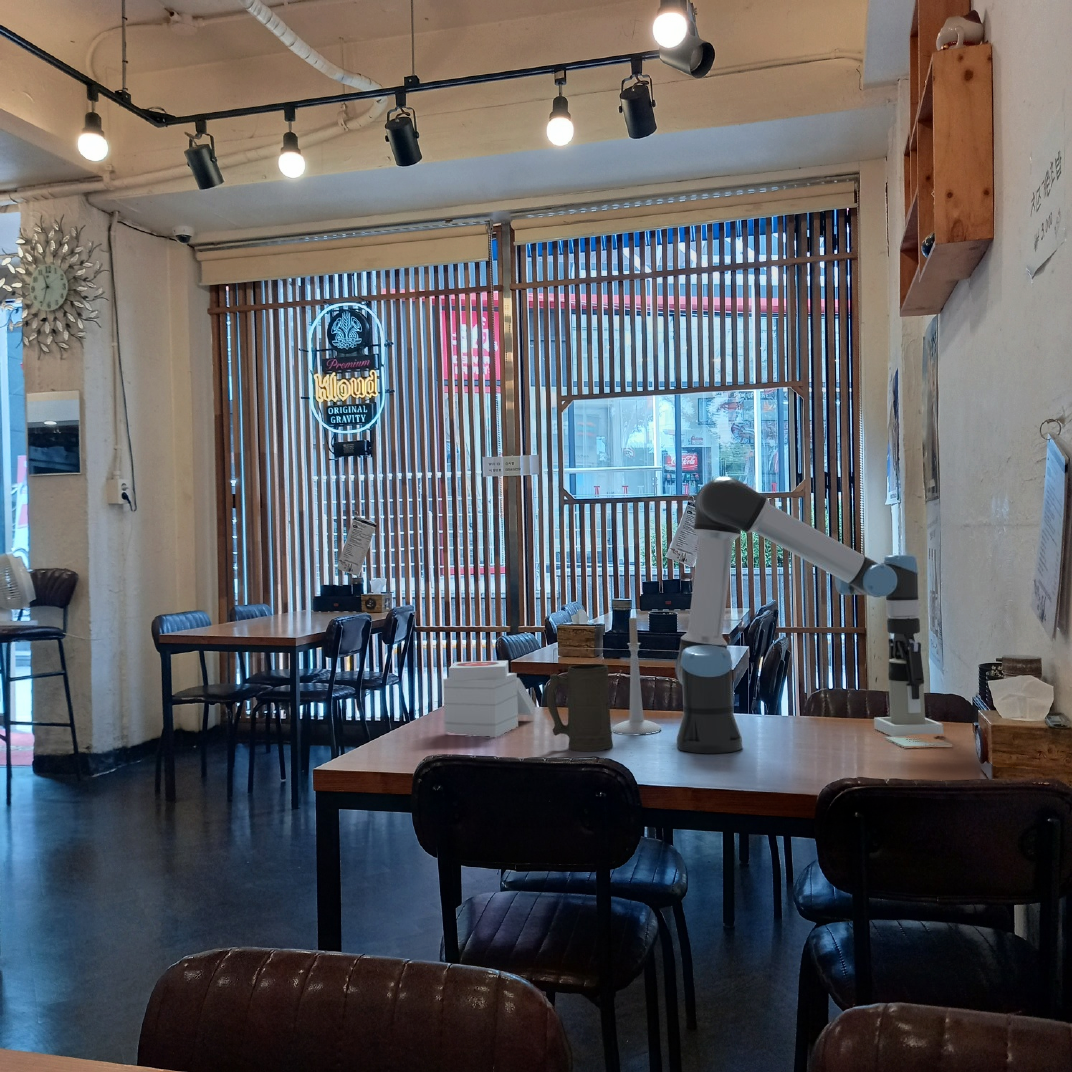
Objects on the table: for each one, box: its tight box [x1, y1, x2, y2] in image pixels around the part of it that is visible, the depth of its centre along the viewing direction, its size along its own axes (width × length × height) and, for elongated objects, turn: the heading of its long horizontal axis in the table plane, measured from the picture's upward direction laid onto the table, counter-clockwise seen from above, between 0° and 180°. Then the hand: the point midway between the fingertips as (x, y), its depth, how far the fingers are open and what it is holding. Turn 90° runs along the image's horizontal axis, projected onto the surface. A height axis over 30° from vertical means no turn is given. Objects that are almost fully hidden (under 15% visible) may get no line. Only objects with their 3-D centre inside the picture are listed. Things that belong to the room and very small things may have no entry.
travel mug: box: [887, 659, 926, 725], centre depth 228 cm, size 8×8×18 cm
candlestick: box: [611, 617, 662, 735], centre depth 243 cm, size 13×13×30 cm
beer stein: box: [546, 663, 614, 752], centre depth 222 cm, size 15×11×20 cm
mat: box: [884, 736, 953, 747], centre depth 215 cm, size 11×11×1 cm
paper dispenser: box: [442, 659, 536, 738], centre depth 254 cm, size 19×30×18 cm, turn 158°
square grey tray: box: [873, 716, 944, 736], centre depth 227 cm, size 12×12×3 cm
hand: (907, 709), depth 228 cm, fingers closed on travel mug, 8 cm apart
